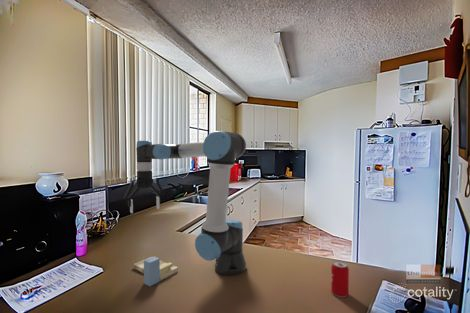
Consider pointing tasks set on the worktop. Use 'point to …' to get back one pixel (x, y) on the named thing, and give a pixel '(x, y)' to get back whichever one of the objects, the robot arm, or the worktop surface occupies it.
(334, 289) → the beverage can
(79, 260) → the worktop surface
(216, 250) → the robot arm
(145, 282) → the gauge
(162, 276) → the board
